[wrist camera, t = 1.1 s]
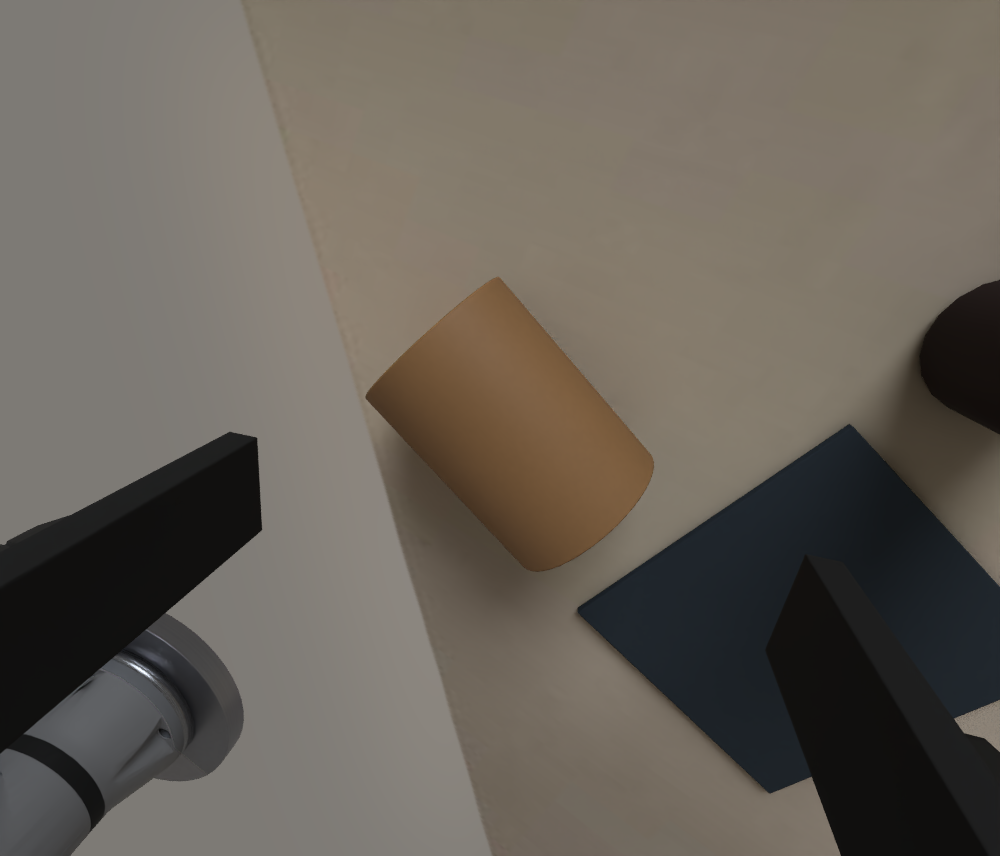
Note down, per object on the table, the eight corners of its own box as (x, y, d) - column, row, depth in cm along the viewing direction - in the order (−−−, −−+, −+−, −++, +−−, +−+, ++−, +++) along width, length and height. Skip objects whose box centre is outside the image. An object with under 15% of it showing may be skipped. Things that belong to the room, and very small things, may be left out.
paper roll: (649, 430, 30) (662, 506, 22) (534, 510, 34) (508, 601, 25) (512, 268, 29) (471, 285, 20) (406, 370, 32) (334, 419, 24)
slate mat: (767, 787, 38) (769, 794, 37) (577, 607, 36) (576, 612, 35) (1068, 662, 30) (1075, 669, 30) (849, 423, 28) (853, 426, 27)
